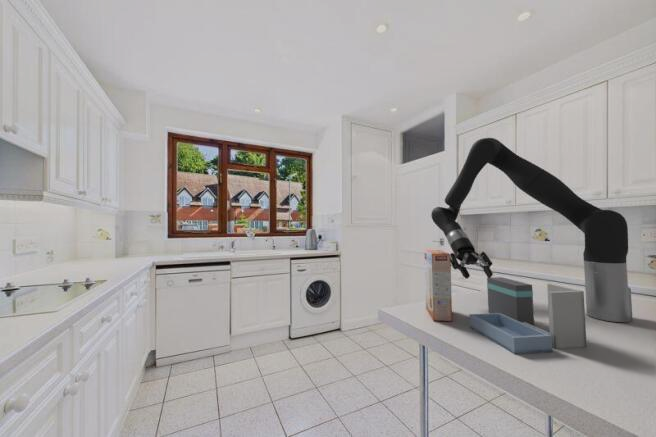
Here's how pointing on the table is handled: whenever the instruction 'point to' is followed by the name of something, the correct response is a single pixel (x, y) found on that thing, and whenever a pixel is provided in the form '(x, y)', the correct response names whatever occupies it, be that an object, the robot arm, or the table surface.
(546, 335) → the tray
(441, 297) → the cracker box
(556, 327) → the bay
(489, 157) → the robot arm
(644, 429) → the table surface
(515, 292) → the teal-striped grey block
